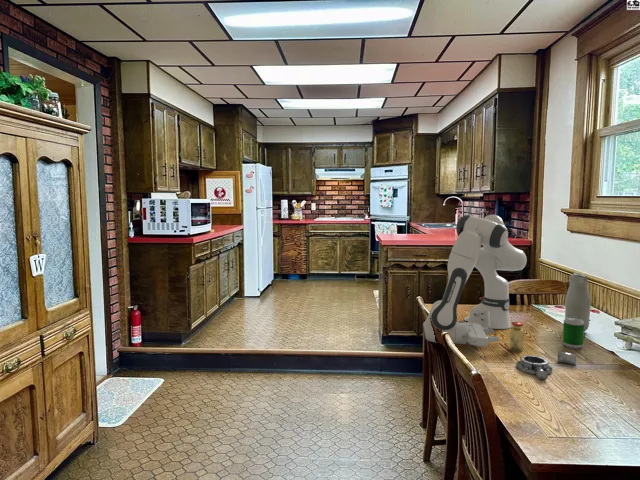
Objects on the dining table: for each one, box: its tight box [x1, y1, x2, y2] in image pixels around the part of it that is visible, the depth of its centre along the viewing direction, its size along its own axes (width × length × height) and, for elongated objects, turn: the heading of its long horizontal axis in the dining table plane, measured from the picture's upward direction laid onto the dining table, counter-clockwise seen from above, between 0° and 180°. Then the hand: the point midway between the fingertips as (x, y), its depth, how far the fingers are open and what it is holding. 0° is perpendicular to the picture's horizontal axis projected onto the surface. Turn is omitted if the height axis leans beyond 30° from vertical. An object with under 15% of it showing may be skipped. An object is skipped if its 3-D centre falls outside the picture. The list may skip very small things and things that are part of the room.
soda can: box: [562, 317, 585, 350], centre depth 183 cm, size 8×8×12 cm
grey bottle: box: [564, 272, 592, 332], centre depth 201 cm, size 10×10×28 cm
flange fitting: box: [515, 354, 553, 382], centre depth 157 cm, size 12×16×4 cm
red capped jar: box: [509, 321, 525, 353], centre depth 179 cm, size 5×5×12 cm
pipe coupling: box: [557, 351, 577, 366], centre depth 165 cm, size 6×4×4 cm, turn 54°
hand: (495, 335), depth 180 cm, fingers open, 8 cm apart
